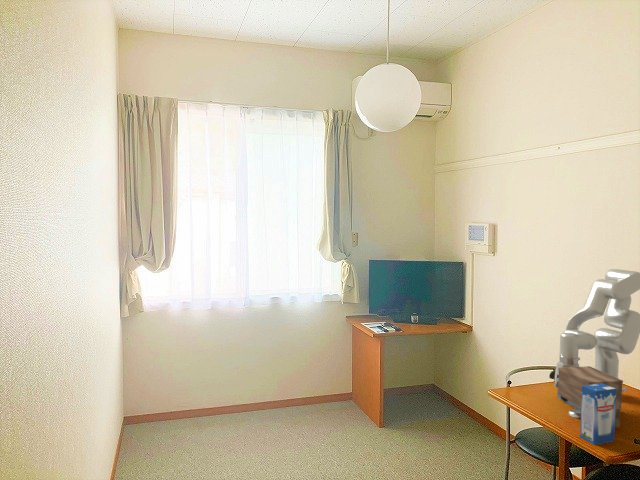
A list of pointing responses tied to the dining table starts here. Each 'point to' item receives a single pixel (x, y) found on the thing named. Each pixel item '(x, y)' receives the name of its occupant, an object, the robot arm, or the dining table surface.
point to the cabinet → (580, 376)
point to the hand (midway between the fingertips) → (567, 399)
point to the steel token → (575, 413)
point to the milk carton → (598, 413)
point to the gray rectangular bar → (569, 402)
